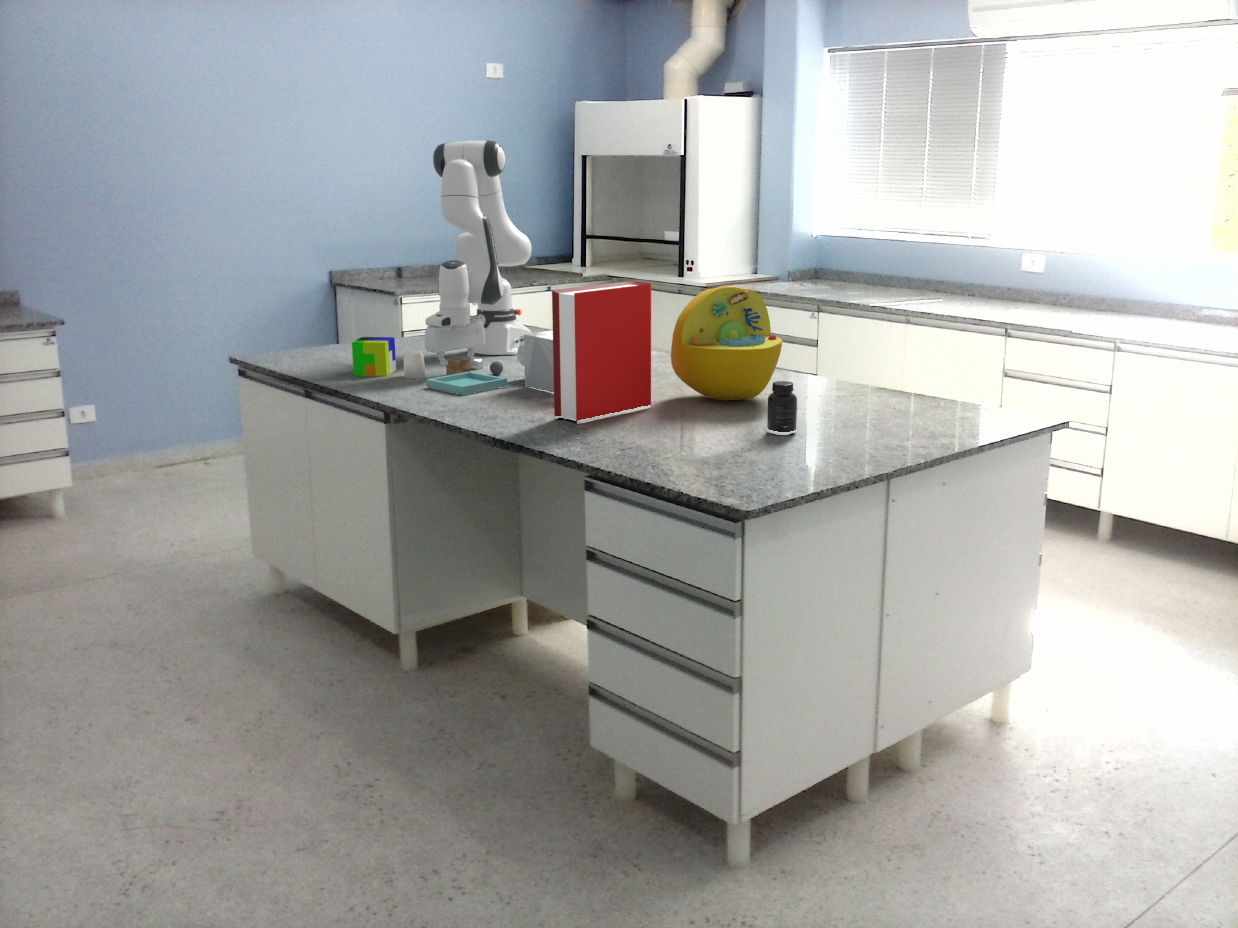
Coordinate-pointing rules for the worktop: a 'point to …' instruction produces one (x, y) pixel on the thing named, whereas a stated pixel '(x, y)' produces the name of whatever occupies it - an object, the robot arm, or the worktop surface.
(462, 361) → the walnut block
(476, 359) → the grey metal dome
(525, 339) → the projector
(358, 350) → the puzzle toy
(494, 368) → the rubber ball
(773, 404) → the supplement bottle
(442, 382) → the tray
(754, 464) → the worktop surface
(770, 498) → the worktop surface
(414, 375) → the ceramic jar
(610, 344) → the book
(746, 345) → the educational model
